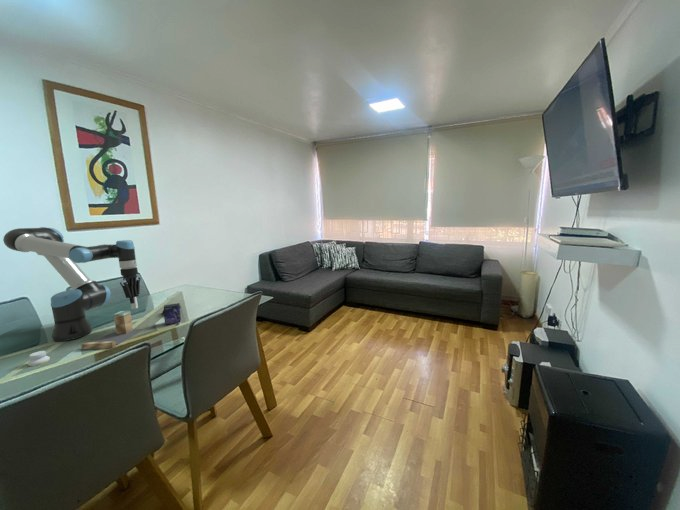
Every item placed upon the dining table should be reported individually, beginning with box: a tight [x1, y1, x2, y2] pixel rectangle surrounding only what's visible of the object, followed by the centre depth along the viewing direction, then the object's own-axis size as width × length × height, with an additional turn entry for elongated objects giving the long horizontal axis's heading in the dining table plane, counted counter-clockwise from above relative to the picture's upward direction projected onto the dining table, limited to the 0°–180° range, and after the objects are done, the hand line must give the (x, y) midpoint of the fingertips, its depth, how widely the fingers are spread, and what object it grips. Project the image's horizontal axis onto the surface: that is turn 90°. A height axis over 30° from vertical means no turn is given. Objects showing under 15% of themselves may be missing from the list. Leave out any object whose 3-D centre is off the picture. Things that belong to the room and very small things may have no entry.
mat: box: [94, 328, 143, 346], centre depth 139 cm, size 14×18×1 cm
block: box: [113, 310, 134, 334], centre depth 144 cm, size 5×5×11 cm
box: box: [163, 302, 182, 326], centre depth 157 cm, size 8×6×11 cm
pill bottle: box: [27, 350, 51, 367], centre depth 116 cm, size 6×6×12 cm
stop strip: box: [80, 341, 117, 350], centre depth 128 cm, size 14×2×2 cm, turn 93°
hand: (134, 308), depth 153 cm, fingers closed
